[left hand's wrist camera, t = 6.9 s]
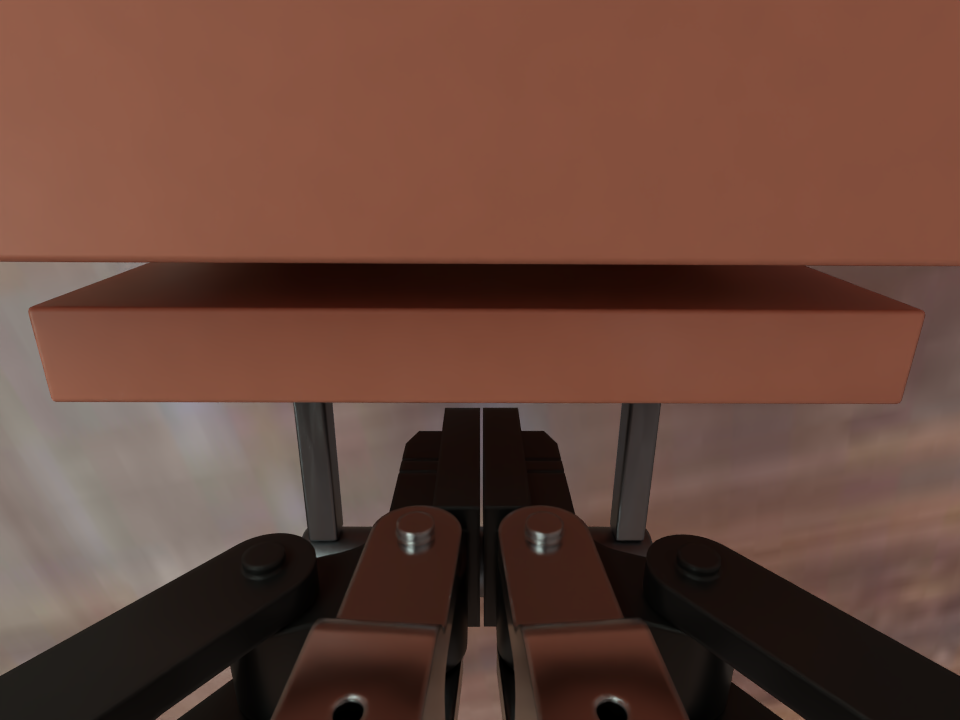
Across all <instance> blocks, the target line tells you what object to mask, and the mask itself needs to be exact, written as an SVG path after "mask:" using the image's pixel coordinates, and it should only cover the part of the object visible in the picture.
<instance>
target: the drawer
mask: <svg viewBox="0 0 960 720" xmlns="http://www.w3.org/2000/svg"><path fill="white" fill-rule="evenodd" d="M28 313H29V316H30V320H31V324H32V328H33V331H34V335H35V339H36V342H37V346H38V350H39V354H40V357H41V361H42V365H43V368H44V372H45V376H46V380H47V383H48V387H49V391H50V394H51V398H52V400H53V401H55V402H293V404H294V413H295V422H296V431H297V440H298V448H299V457H300V466H301V475H302V483H303V492H304V501H305V510H306V519H307V527H308V528H307V529H306V530H305V532H304V534H303V537H302V538H304V539H306V540H307V541H309V542H310V543H311V544H312V546H313V547H314V549H315V552H316V558H317V557H321V556H326V555H330V554H335V553H339V552H343V551H347V550H351V549H353V548H356V547H359V546H361V545H363V544H365V543H366V541H367V539H368V536H369V534H370V531H371V529H372V527H342V525H343V517H342V506H341V495H340V483H339V472H338V461H337V450H336V438H335V427H334V416H333V404H332V402H364V403H622V408H621V419H620V429H619V439H618V449H617V459H616V469H615V479H614V489H613V500H612V510H611V520H610V525H611V527H588V529H589V531H590V534H591V536H592V539H593V540H595V541H596V542H598V543H600V544H602V545H604V546H606V547H609V548H611V549H614V550H618V551H622V552H626V553H630V554H635V555H639V556H644V557H646V554H647V551H648V549H649V547H650V546H651V544H653V543H652V540H651V537H650V535H649V533H648V531H647V530H646V529H645V528H646V520H647V512H648V504H649V496H650V488H651V480H652V471H653V463H654V455H655V447H656V439H657V431H658V423H659V415H660V407H661V403H774V404H898V403H900V402H901V400H902V397H903V393H904V390H905V386H906V383H907V379H908V375H909V372H910V368H911V365H912V361H913V357H914V354H915V350H916V347H917V343H918V340H919V336H920V332H921V329H922V325H923V322H924V318H925V312H924V311H922V310H920V309H918V308H915V307H912V306H910V305H907V304H904V303H902V302H899V301H896V300H894V299H891V298H889V297H886V296H883V295H881V294H878V293H875V292H873V291H870V290H867V289H865V288H862V287H859V286H857V285H854V284H851V283H849V282H846V281H844V280H841V279H838V278H836V277H833V276H830V275H828V274H825V273H822V272H820V271H817V270H814V269H812V268H809V267H806V266H804V265H604V264H390V263H177V262H150V263H147V264H145V265H142V266H139V267H137V268H134V269H131V270H129V271H126V272H123V273H121V274H118V275H115V276H112V277H110V278H107V279H104V280H102V281H99V282H96V283H94V284H91V285H88V286H86V287H83V288H80V289H78V290H75V291H72V292H70V293H67V294H64V295H61V296H59V297H56V298H53V299H51V300H48V301H45V302H43V303H40V304H37V305H35V306H32V307H30V308H29V311H28ZM480 597H484V572H483V527H480Z"/></svg>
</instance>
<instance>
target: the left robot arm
mask: <svg viewBox="0 0 960 720" xmlns="http://www.w3.org/2000/svg"><path fill="white" fill-rule="evenodd" d="M483 572H484V626H496V630H497V678H498V686H499V694H500V703H501V711H502V719H503V720H783V719H781V718H780V717H779V716H777V715H776V714H775V713H773V712H772V711H771V710H769V709H768V708H766V707H765V706H764V705H762V704H761V703H760V702H758V701H757V700H755V699H754V698H753V697H751V696H750V695H749V694H747V693H746V692H745V691H743V690H742V689H740V688H739V687H738V686H736V685H735V684H734V683H732V682H731V680H732V675H733V670H734V669H736V670H737V671H738V672H740V673H741V674H743V675H744V676H745V677H747V678H748V679H750V680H751V681H752V682H754V683H755V684H757V685H758V686H759V687H761V688H762V689H764V690H765V691H766V692H768V693H769V694H771V695H772V696H774V697H775V698H776V699H778V700H779V701H781V702H782V703H783V704H785V705H786V706H788V707H789V708H790V709H792V710H793V711H795V712H796V713H797V714H799V715H800V716H801V717H803V718H804V719H805V720H960V676H959V675H957V674H955V673H953V672H951V671H950V670H948V669H946V668H944V667H942V666H941V665H939V664H937V663H935V662H933V661H932V660H930V659H928V658H926V657H924V656H922V655H921V654H919V653H917V652H915V651H913V650H912V649H910V648H908V647H906V646H904V645H903V644H901V643H899V642H897V641H895V640H894V639H892V638H890V637H888V636H886V635H885V634H883V633H881V632H879V631H877V630H876V629H874V628H872V627H870V626H868V625H867V624H865V623H863V622H861V621H859V620H858V619H856V618H854V617H852V616H850V615H848V614H847V613H845V612H843V611H841V610H839V609H838V608H836V607H834V606H832V605H830V604H829V603H827V602H825V601H823V600H821V599H820V598H818V597H816V596H814V595H812V594H811V593H809V592H807V591H805V590H803V589H802V588H800V587H798V586H796V585H794V584H793V583H791V582H789V581H787V580H785V579H784V578H782V577H780V576H778V575H776V574H774V573H773V572H771V571H769V570H767V569H765V568H764V567H762V566H760V565H758V564H756V563H755V562H753V561H751V560H749V559H747V558H746V557H744V556H742V555H740V554H738V553H737V552H735V551H733V550H731V549H729V548H728V547H726V546H724V545H722V544H720V543H718V542H715V541H713V540H710V539H707V538H703V537H699V536H694V535H671V536H666V537H663V538H660V539H658V540H657V541H655V542H654V543H653V544H651V546H650V547H649V549H648V551H647V554H646V557H644V556H639V555H635V554H630V553H626V552H622V551H618V550H614V549H611V548H609V547H606V546H604V545H602V544H600V543H598V542H596V541H595V540H593V539H592V536H591V534H590V531H589V529H588V527H587V525H586V524H585V523H584V522H583V520H581V519H580V518H579V517H578V516H576V515H575V512H574V508H573V504H572V500H571V496H570V492H569V488H568V484H567V480H566V476H565V473H564V468H563V465H562V461H561V457H560V453H559V449H558V445H557V443H556V442H555V441H554V440H553V439H552V438H551V437H550V436H549V435H548V434H546V433H545V432H544V431H521V426H520V419H519V412H518V408H483ZM468 627H480V408H445V413H444V421H443V428H442V431H419V432H418V433H417V434H416V435H415V436H414V437H413V438H411V439H410V440H409V441H408V442H407V443H406V446H405V450H404V454H403V458H402V462H401V466H400V473H399V475H398V479H397V483H396V487H395V491H394V495H393V499H392V504H391V508H390V512H389V513H387V514H385V515H384V516H382V517H381V518H380V519H379V520H377V522H376V523H375V524H374V525H373V527H372V529H371V531H370V534H369V536H368V539H367V541H366V543H365V544H363V545H361V546H359V547H356V548H353V549H351V550H347V551H343V552H339V553H335V554H330V555H326V556H321V557H317V558H316V552H315V549H314V547H313V546H312V544H311V543H310V542H309V541H307V540H306V539H304V538H302V537H300V536H297V535H293V534H287V533H275V534H267V535H262V536H258V537H254V538H252V539H249V540H246V541H244V542H242V543H240V544H238V545H236V546H234V547H232V548H231V549H229V550H227V551H225V552H223V553H222V554H220V555H218V556H216V557H214V558H213V559H211V560H209V561H207V562H205V563H204V564H202V565H200V566H198V567H196V568H195V569H193V570H191V571H189V572H187V573H186V574H184V575H182V576H180V577H178V578H177V579H175V580H173V581H171V582H169V583H167V584H166V585H164V586H162V587H160V588H158V589H157V590H155V591H153V592H151V593H149V594H148V595H146V596H144V597H142V598H140V599H139V600H137V601H135V602H133V603H131V604H130V605H128V606H126V607H124V608H122V609H121V610H119V611H117V612H115V613H113V614H112V615H110V616H108V617H106V618H104V619H103V620H101V621H99V622H97V623H95V624H93V625H92V626H90V627H88V628H86V629H84V630H83V631H81V632H79V633H77V634H75V635H74V636H72V637H70V638H68V639H66V640H65V641H63V642H61V643H59V644H57V645H56V646H54V647H52V648H50V649H48V650H47V651H45V652H43V653H41V654H39V655H38V656H36V657H34V658H32V659H30V660H29V661H27V662H25V663H23V664H21V665H19V666H18V667H16V668H14V669H12V670H10V671H9V672H7V673H5V674H3V675H1V676H0V720H156V719H157V718H158V717H159V716H160V715H161V714H163V713H164V712H165V711H167V710H168V709H170V708H171V707H172V706H174V705H175V704H177V703H178V702H179V701H181V700H182V699H184V698H185V697H187V696H188V695H189V694H191V693H192V692H194V691H195V690H196V689H198V688H199V687H201V686H202V685H203V684H205V683H206V682H208V681H209V680H210V679H212V678H213V677H215V676H216V675H217V674H219V673H220V672H222V671H223V670H224V669H226V668H227V667H229V666H230V667H231V672H232V677H233V679H232V680H230V681H229V682H228V683H226V684H225V685H224V686H222V687H221V688H220V689H218V690H217V691H215V692H214V693H213V694H211V695H210V696H209V697H207V698H206V699H205V700H203V701H202V702H200V703H199V704H198V705H196V706H195V707H194V708H192V709H191V710H189V711H188V712H187V713H185V714H184V715H183V716H181V717H180V718H179V719H177V720H457V719H458V711H459V703H460V694H461V686H462V678H463V656H464V654H465V652H466V649H467V633H468Z"/></svg>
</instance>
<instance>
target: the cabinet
mask: <svg viewBox="0 0 960 720" xmlns="http://www.w3.org/2000/svg"><path fill="white" fill-rule="evenodd" d="M0 262H177V263H390V264H604V265H818V266H960V0H0Z"/></svg>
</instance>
